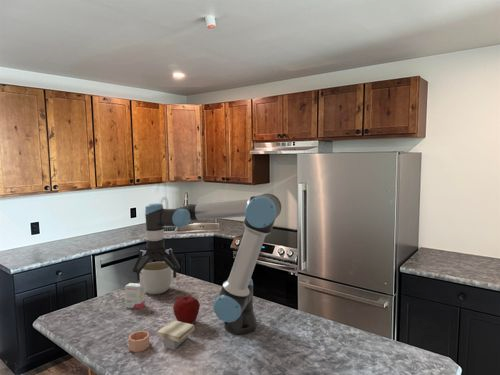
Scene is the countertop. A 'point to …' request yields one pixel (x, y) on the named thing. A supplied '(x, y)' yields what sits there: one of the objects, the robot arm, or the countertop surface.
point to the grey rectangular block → (173, 343)
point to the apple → (186, 309)
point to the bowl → (139, 341)
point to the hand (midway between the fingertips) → (157, 285)
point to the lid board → (175, 330)
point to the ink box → (134, 295)
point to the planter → (156, 277)
